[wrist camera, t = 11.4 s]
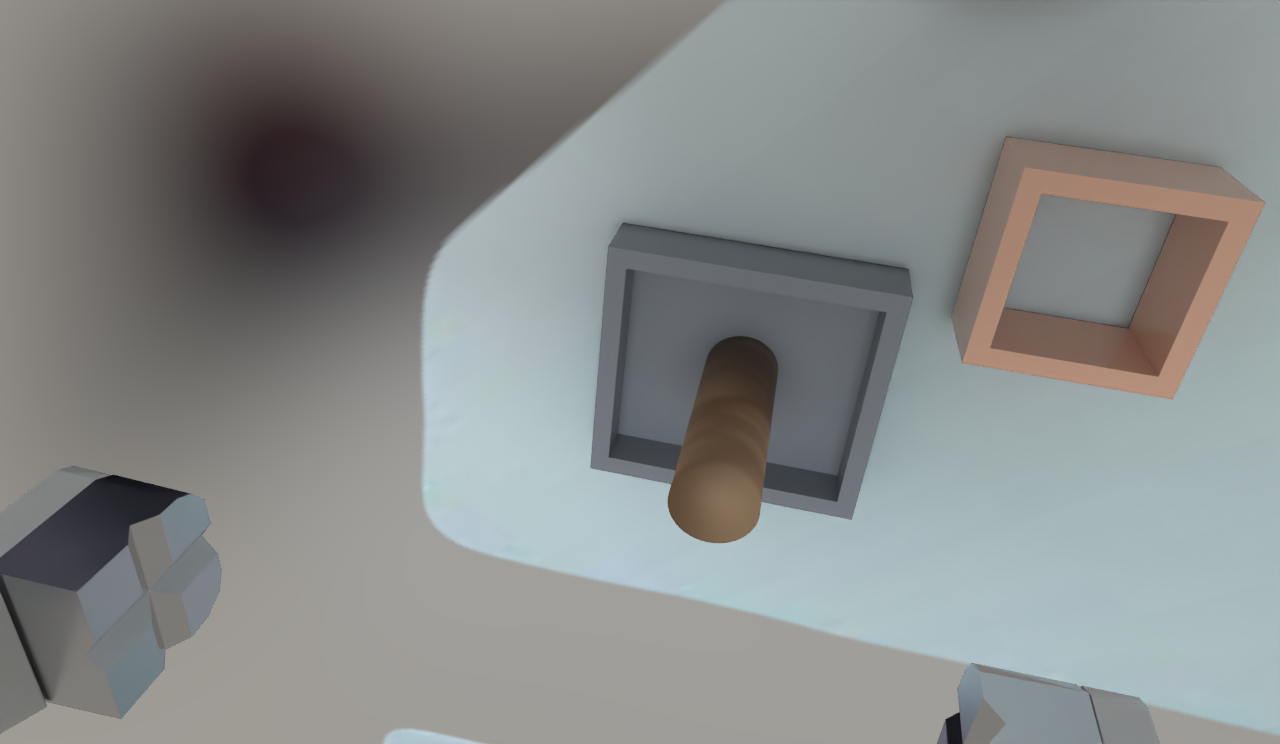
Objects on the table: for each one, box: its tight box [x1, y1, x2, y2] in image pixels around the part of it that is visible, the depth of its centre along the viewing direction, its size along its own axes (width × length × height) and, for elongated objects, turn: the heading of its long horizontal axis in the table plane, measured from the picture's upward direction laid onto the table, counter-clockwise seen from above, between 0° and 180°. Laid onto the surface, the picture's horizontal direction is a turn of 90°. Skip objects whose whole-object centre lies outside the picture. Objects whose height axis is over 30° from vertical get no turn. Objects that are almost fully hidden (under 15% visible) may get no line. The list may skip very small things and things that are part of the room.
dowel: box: [668, 336, 778, 543], centre depth 35 cm, size 3×3×10 cm
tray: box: [590, 223, 913, 520], centre depth 39 cm, size 12×11×3 cm
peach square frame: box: [951, 137, 1265, 399], centre depth 33 cm, size 8×8×4 cm
